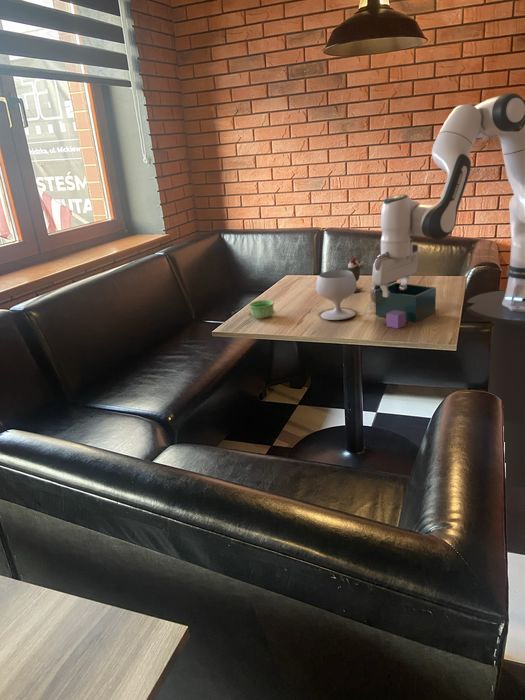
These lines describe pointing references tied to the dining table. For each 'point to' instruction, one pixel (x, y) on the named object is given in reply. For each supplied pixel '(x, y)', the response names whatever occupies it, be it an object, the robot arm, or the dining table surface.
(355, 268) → the sundae
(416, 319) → the compartment
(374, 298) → the vase
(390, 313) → the purple cube
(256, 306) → the ramekin
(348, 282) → the chalice
